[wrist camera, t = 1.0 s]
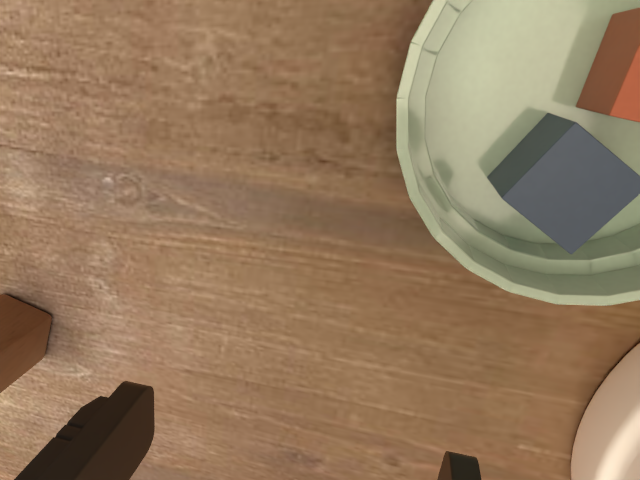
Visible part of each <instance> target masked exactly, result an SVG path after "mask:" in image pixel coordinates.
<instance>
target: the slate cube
mask: <svg viewBox="0 0 640 480" xmlns="http://www.w3.org/2000/svg"><path fill="white" fill-rule="evenodd" d="M487 178H488V180H489V181H490V183H491V184H492V185H493V187H494V188H495V190H496V191H497V192H498V194H499V195H500V197H501V198H502V199H503V200H504V201H505V202H507V203H508V204H509V205H510V206H512V207H513V208H514V209H515V210H517V211H518V212H519V213H520V214H521V215H523V216H524V217H525V218H526V219H528V220H529V221H530V222H531V223H533V224H534V225H535V226H536V227H537V228H539V229H540V230H541V231H542V232H544V233H545V234H546V235H547V236H549V237H550V238H551V239H552V240H553V241H555V242H556V243H557V244H558V245H560V246H561V247H562V248H563V249H565V250H566V251H567V252H568V253H569V254H573V253H574V252H575V251H576V250H577V249H579V248H580V247H581V246H582V245H583V244H584V243H585V242H586V241H588V240H589V239H590V238H591V237H592V236H593V235H594V234H595V233H596V232H598V231H599V230H600V229H601V228H602V227H603V226H604V225H605V224H607V223H608V222H609V221H610V220H611V219H612V218H613V217H614V216H616V215H617V214H618V213H619V212H620V211H621V210H622V209H623V208H625V207H626V206H627V205H628V204H629V203H630V202H631V201H632V200H634V199H635V198H636V197H637V196H638V195H639V194H640V175H638V174H637V173H636V172H635V171H634V170H633V169H631V168H630V167H629V166H628V165H627V164H625V163H624V162H623V161H622V160H621V159H619V158H618V157H617V156H616V155H615V154H614V153H612V152H611V151H610V150H609V149H608V148H606V147H605V146H604V145H603V144H602V143H601V142H599V141H598V140H597V139H596V138H595V137H593V136H592V135H591V134H590V133H589V132H588V131H586V130H585V129H584V128H583V127H582V126H580V125H579V124H578V123H577V122H574V121H571V120H568V119H565V118H562V117H559V116H557V115H554V114H551V113H547V114H546V115H545V116H544V117H543V118H542V119H541V120H540V121H539V122H538V124H537V125H536V126H535V127H534V128H533V129H532V130H531V131H530V132H529V133H528V134H527V135H526V136H525V137H524V138H523V139H522V140H521V142H520V143H519V144H518V145H517V146H516V147H515V148H514V149H513V150H512V151H511V152H510V153H509V154H508V155H507V156H506V157H505V158H504V160H503V161H502V162H501V163H500V164H499V165H498V166H497V167H496V168H495V169H494V170H493V171H492V172H491V173H490V174H489V175H488V176H487Z"/></svg>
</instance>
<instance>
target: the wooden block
mask: <svg viewBox="0 0 640 480" xmlns="http://www.w3.org/2000/svg"><path fill="white" fill-rule="evenodd" d="M51 321H52V318H51V316H50V315H49V314H48V313H45V312H43V311H41V310H39V309H37V308H34V307H32V306H30V305H28V304H26V303H23V302H21V301H19V300H17V299H14V298H12V297H10V296H8V295H4V294H2V295H0V393H1V392H2V391H3V390H5V389H6V388H7V387H8V386H9V385H11V384H12V383H13V382H14V381H16V380H17V379H18V378H19V377H21V376H22V375H23V374H24V373H26V372H27V371H28V370H29V369H31V368H32V367H33V366H34V365H36V364H37V363H38V362H39V361H41V360H42V359H43V357H44V355H45V351H46V346H47V341H48V336H49V331H50V326H51Z"/></svg>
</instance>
